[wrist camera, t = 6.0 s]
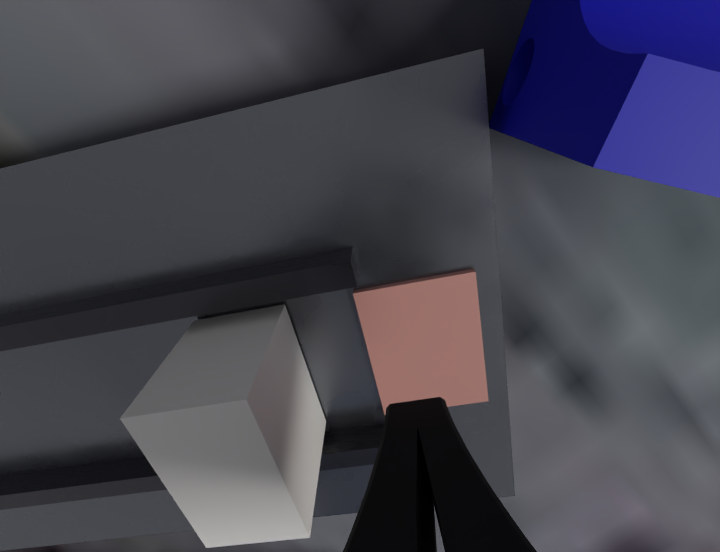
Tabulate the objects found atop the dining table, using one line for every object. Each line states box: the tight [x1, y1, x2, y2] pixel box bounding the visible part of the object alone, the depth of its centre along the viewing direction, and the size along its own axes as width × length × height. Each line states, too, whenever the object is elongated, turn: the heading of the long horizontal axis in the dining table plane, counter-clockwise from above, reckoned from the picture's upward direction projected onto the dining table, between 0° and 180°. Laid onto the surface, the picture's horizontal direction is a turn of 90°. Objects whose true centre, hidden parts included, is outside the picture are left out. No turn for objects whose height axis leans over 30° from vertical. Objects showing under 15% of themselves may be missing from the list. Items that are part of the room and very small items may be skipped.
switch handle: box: [120, 304, 326, 548], centre depth 11 cm, size 5×3×4 cm, turn 13°
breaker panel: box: [0, 48, 515, 551], centre depth 14 cm, size 16×28×2 cm, turn 102°
